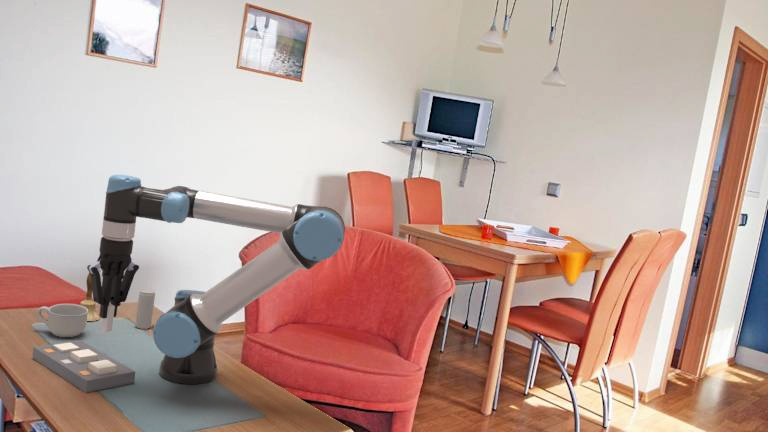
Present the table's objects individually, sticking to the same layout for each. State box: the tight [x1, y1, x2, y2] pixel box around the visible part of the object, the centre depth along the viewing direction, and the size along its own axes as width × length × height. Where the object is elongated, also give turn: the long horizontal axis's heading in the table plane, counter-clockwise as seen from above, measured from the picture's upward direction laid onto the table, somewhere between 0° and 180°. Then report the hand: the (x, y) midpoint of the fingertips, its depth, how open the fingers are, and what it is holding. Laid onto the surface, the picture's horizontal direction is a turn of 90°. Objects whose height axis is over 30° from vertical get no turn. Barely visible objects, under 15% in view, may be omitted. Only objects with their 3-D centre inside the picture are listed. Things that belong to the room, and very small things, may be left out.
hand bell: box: [79, 272, 101, 322], centre depth 218 cm, size 8×8×16 cm
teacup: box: [36, 303, 88, 338], centre depth 200 cm, size 14×11×8 cm
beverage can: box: [134, 288, 156, 330], centre depth 218 cm, size 5×5×12 cm
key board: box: [32, 339, 136, 394], centre depth 176 cm, size 27×13×3 cm, turn 52°
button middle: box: [70, 349, 98, 364], centre depth 176 cm, size 5×5×2 cm
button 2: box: [88, 360, 117, 375], centre depth 171 cm, size 5×5×2 cm
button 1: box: [53, 341, 80, 353], centre depth 181 cm, size 5×5×2 cm
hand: (106, 329), depth 170 cm, fingers closed
